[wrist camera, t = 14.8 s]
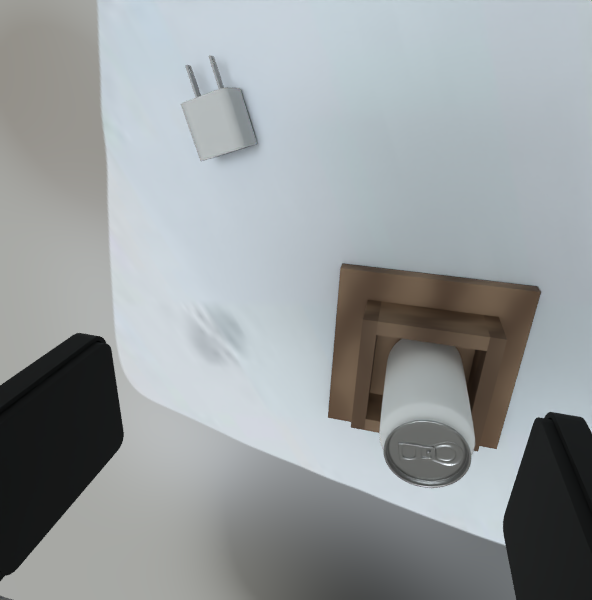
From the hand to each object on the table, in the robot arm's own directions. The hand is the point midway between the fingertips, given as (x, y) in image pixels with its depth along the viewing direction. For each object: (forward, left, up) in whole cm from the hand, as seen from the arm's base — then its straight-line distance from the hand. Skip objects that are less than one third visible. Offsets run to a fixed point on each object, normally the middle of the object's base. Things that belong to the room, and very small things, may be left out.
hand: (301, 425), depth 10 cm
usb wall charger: (+14, -5, -31) cm, 34 cm away
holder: (-5, +15, -30) cm, 34 cm away
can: (-5, +15, -29) cm, 33 cm away
